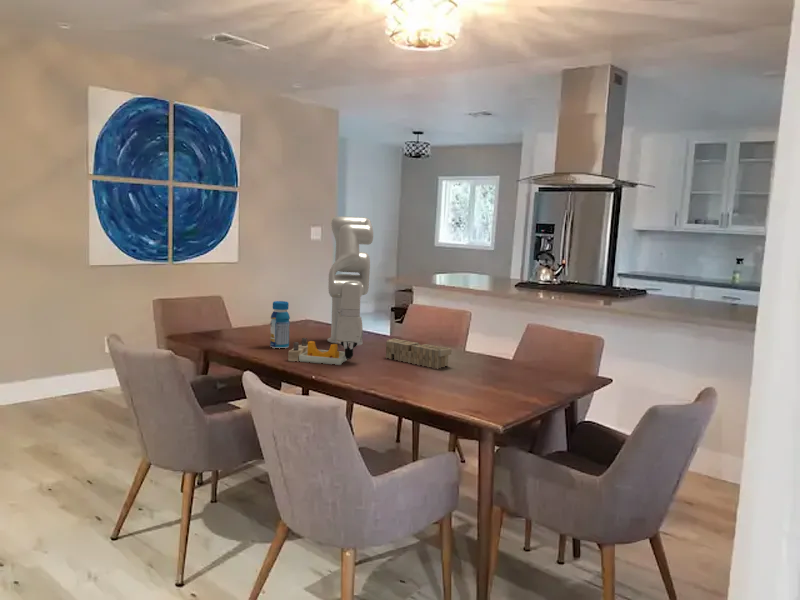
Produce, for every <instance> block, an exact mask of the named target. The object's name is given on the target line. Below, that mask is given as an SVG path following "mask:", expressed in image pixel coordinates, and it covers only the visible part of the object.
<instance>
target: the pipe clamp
mask: <svg viewBox="0 0 800 600" xmlns="http://www.w3.org/2000/svg"><path fill="white" fill-rule="evenodd" d="M307 344H308V354H307V356H318V357H330V358H339V350H338V348H339V347H338V345H339V344H336V343H331V344H330V347H329V349H328V350H329V351H328V352H321V351H319V350H320V349H318V348H317V345H316V341H313V340H310V341H307Z"/></svg>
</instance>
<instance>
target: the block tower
mask: <svg viewBox="0 0 800 600" xmlns="http://www.w3.org/2000/svg"><path fill="white" fill-rule="evenodd" d="M385 345H386V346H385V359H387V358H389V360H394V361H396V360H398V361H397V362H401V361H403V362H402V363H405V362H408V363H407V364H410V363H412V364H411V365H415V364H417V365H416V366H420V365H422V366H421V367H424V366H427V367H426V368H429V367H432V368H431V369H435V368H440V369H442V368H441V367H444V368H445V366H447V367H448V366H449V356H451V355H452V352H453V351H452V348H449V347H446V346H445V347H442V346H436V345H433V344H427V343H425V344H424V343H423V344H420V343H419V342H414V341H409V340H404V339H398V338H390V339H387V340H386V341H385ZM393 358H394V359H393Z"/></svg>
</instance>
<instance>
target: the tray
mask: <svg viewBox="0 0 800 600" xmlns="http://www.w3.org/2000/svg"><path fill="white" fill-rule="evenodd" d="M318 350H319V351H321V352H328V351H329V349H328V350H325V349H318ZM338 351H339V350H338ZM307 354H308V350H307V351H306V352H304V353H302V354H301V355H299V361H300V362H299V361H298V362H299V363H309V362H310V364H321V363H323V364H322V365H332V364H335V365H334V366H341V365H342V363H343V362H344V363H345V362H346V361H348V360H347V359H346V356H345V351H339V358H330V357H318V356H307ZM344 363H343V364H344Z"/></svg>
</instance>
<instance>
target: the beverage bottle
mask: <svg viewBox="0 0 800 600" xmlns="http://www.w3.org/2000/svg"><path fill="white" fill-rule="evenodd" d="M272 310H273V311H272V313H271V316H270V319H271V320H270V322H269V324H270V330H269V331H270V334H269V335H270V338H269V342H270V343H269V346H270V348H271V347H272V349H275V348H279V349H280V348H285V349H288V348H289V347H290V330H291V329H290V328H291V327H290V325H291V322H290V319H291V316H290V313H289V312H288V310H289V301H283V300H275V301H273V302H272ZM280 350H281V349H280Z"/></svg>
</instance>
